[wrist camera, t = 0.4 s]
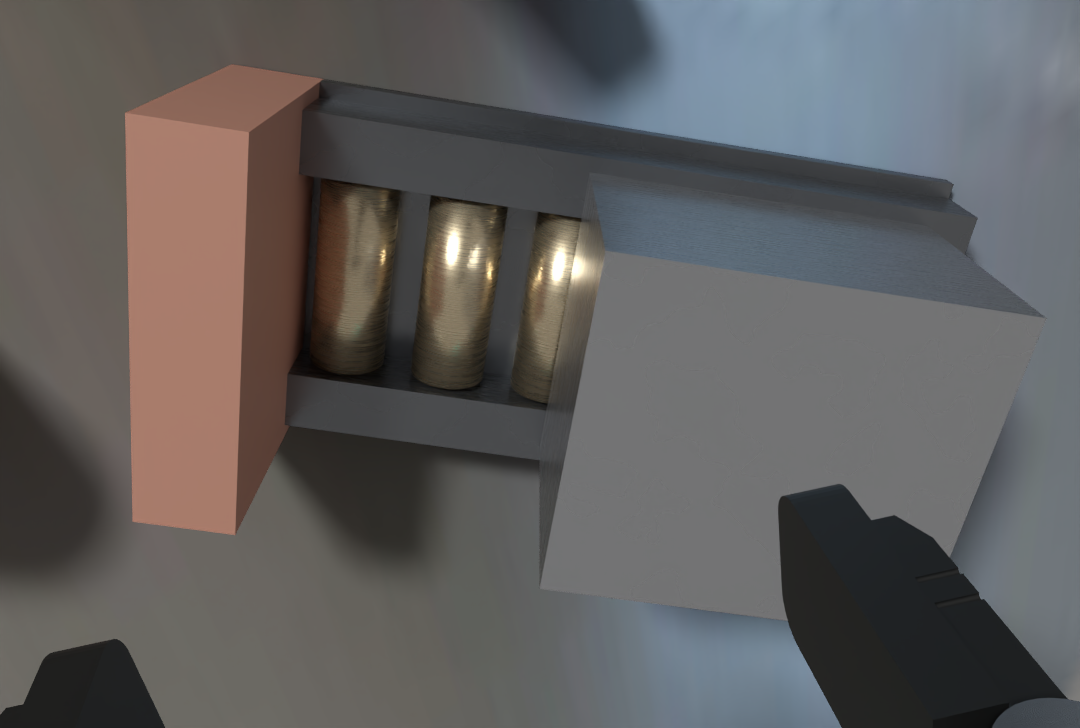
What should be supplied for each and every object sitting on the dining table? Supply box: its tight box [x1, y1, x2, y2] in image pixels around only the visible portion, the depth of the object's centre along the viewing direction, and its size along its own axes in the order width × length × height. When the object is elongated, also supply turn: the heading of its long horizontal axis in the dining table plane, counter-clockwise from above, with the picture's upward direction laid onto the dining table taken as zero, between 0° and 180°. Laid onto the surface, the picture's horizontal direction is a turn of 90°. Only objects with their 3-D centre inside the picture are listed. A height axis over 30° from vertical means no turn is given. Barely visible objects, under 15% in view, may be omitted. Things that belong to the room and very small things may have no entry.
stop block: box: [125, 64, 323, 535], centre depth 30 cm, size 3×12×9 cm, turn 171°
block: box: [539, 172, 1047, 621], centre depth 29 cm, size 11×10×8 cm
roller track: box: [285, 79, 978, 460], centre depth 34 cm, size 22×12×3 cm, turn 81°
